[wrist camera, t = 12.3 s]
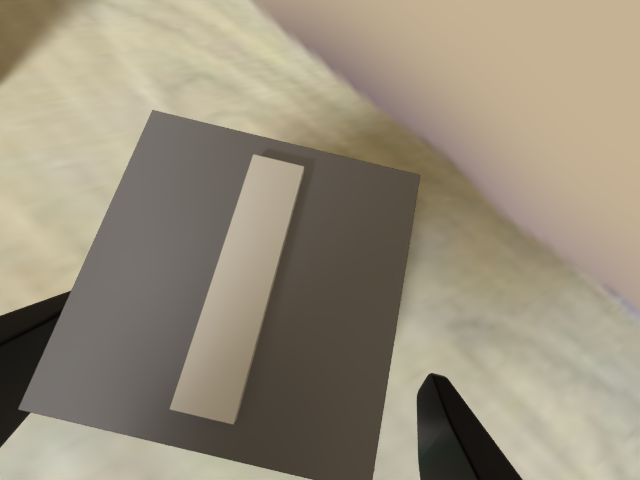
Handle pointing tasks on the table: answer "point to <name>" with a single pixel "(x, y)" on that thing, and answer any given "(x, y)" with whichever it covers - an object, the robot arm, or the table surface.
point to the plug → (237, 303)
